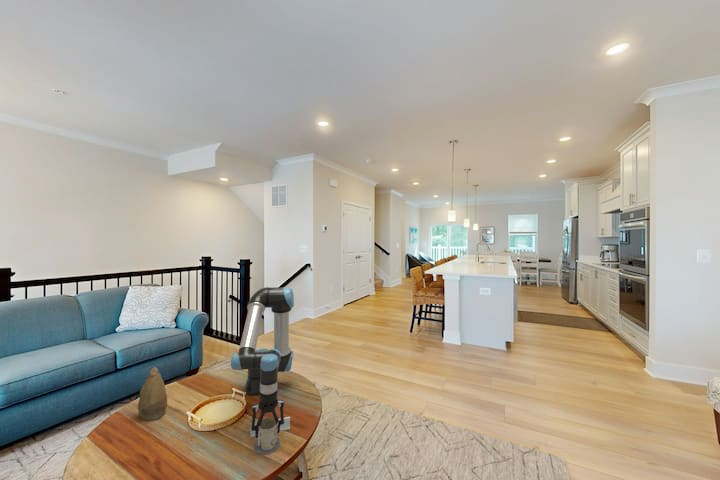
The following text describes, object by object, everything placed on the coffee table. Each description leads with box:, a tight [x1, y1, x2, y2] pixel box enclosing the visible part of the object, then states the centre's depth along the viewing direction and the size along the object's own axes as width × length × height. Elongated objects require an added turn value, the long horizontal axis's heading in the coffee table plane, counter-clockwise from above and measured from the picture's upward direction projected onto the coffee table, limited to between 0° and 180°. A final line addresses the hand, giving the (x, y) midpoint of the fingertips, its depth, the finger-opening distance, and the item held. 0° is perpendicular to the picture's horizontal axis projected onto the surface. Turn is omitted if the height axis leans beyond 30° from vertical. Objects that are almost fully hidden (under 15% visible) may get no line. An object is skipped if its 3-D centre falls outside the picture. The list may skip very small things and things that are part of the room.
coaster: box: [253, 437, 281, 456], centre depth 127 cm, size 11×11×1 cm
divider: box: [250, 416, 291, 439], centre depth 136 cm, size 3×18×5 cm, turn 111°
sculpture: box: [137, 366, 168, 421], centre depth 145 cm, size 12×11×25 cm
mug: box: [255, 417, 278, 450], centre depth 127 cm, size 8×13×10 cm, turn 67°
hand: (267, 441), depth 127 cm, fingers closed on mug, 7 cm apart
